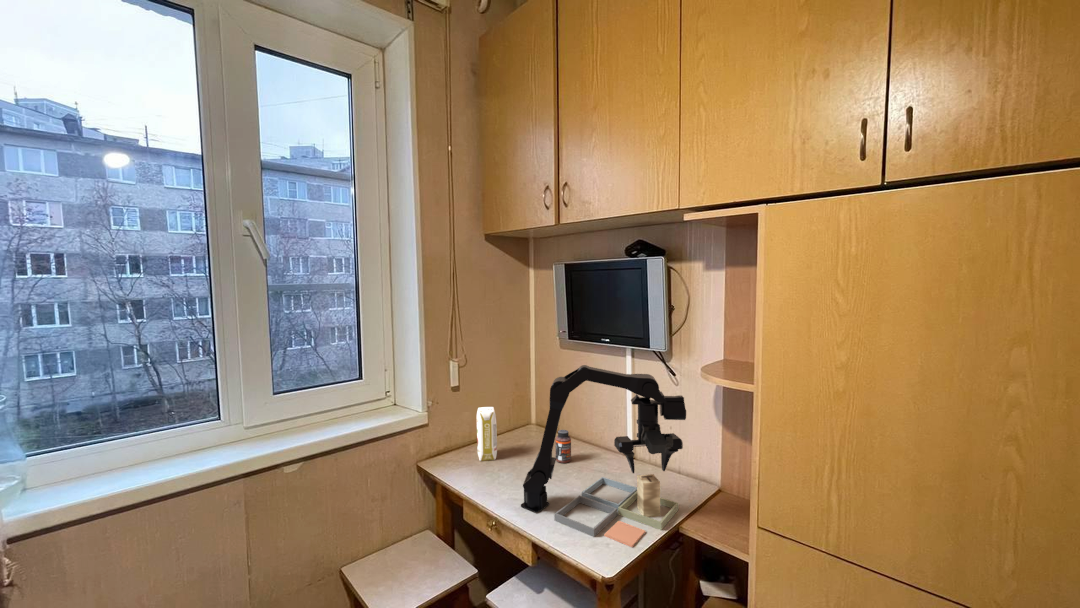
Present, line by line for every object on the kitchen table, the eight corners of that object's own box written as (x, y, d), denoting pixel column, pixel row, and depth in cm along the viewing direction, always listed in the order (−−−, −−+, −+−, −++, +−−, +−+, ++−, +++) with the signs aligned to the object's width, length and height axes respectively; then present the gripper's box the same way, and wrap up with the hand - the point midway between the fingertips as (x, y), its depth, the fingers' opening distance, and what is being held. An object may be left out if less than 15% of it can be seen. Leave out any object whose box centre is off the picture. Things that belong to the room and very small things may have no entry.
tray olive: (618, 514, 121) (618, 507, 120) (637, 496, 131) (637, 490, 131) (661, 530, 112) (661, 522, 112) (678, 509, 123) (678, 502, 123)
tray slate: (581, 498, 130) (581, 492, 130) (602, 482, 140) (602, 476, 140) (619, 511, 122) (618, 505, 122) (638, 493, 132) (638, 487, 132)
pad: (604, 536, 110) (604, 534, 110) (618, 522, 117) (618, 520, 117) (632, 547, 105) (632, 545, 105) (645, 532, 112) (645, 530, 112)
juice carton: (496, 452, 168) (495, 405, 167) (497, 460, 160) (496, 411, 159) (477, 453, 167) (476, 406, 166) (477, 462, 158) (476, 413, 158)
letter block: (643, 517, 119) (643, 482, 118) (637, 508, 124) (637, 475, 123) (660, 516, 119) (660, 481, 119) (653, 507, 124) (653, 473, 124)
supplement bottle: (562, 465, 155) (561, 435, 154) (552, 459, 159) (552, 430, 159) (574, 460, 158) (574, 431, 158) (564, 455, 163) (564, 427, 163)
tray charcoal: (554, 520, 118) (554, 513, 118) (579, 501, 128) (579, 495, 128) (594, 536, 110) (593, 529, 110) (617, 515, 120) (617, 508, 120)
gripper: (625, 430, 111) (626, 487, 112) (691, 426, 114) (692, 482, 114) (613, 417, 123) (614, 469, 123) (674, 413, 125) (674, 465, 125)
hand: (648, 471), depth 121 cm, fingers open, 9 cm apart
